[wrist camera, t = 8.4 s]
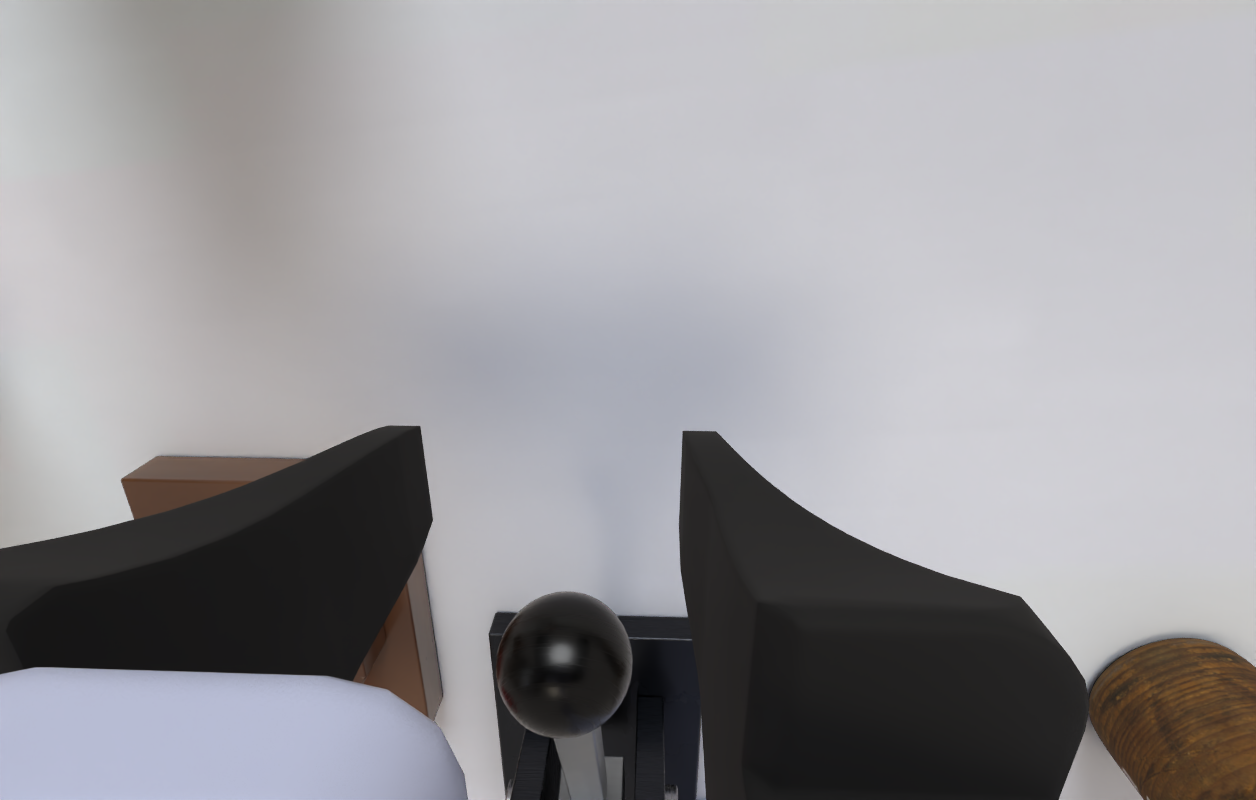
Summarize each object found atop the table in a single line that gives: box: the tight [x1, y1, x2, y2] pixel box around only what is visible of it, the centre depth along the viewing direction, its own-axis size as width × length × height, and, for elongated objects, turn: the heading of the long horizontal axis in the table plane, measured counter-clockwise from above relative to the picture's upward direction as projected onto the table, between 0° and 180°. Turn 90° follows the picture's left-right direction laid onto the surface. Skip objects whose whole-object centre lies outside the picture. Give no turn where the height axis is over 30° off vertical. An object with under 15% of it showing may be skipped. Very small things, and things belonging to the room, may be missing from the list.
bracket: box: [489, 612, 701, 800], centre depth 24 cm, size 10×8×6 cm
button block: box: [121, 456, 443, 721], centre depth 23 cm, size 11×9×4 cm
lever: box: [496, 592, 633, 800], centre depth 18 cm, size 15×3×3 cm, turn 0°
